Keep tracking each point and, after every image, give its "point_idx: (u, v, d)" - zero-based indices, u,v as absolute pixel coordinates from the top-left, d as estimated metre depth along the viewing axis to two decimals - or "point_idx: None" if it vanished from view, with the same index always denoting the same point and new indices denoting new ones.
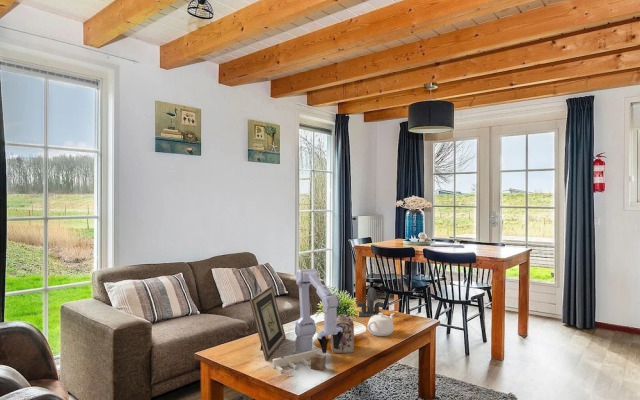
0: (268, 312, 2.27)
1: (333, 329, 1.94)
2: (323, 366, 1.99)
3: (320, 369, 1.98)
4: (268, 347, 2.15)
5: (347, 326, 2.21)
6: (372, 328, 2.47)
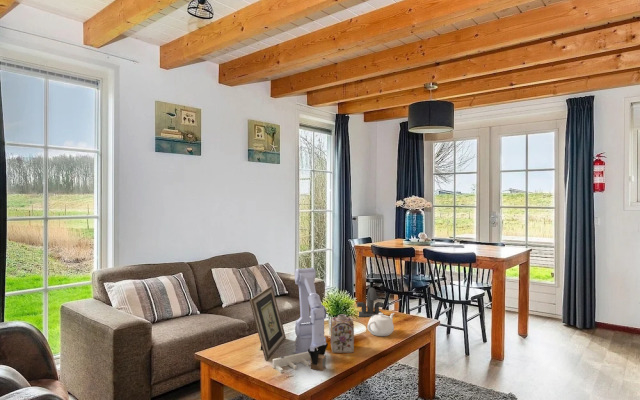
0: (268, 312, 2.27)
1: (322, 340, 1.99)
2: (323, 366, 1.99)
3: (320, 369, 1.98)
4: (268, 347, 2.15)
5: (347, 326, 2.21)
6: (372, 328, 2.47)
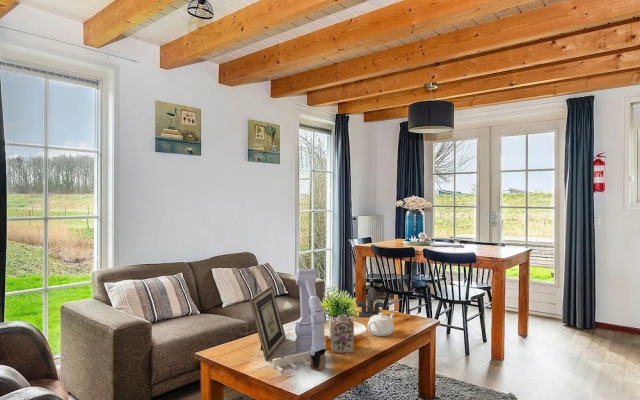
0: (268, 312, 2.27)
1: (322, 344, 1.99)
2: (323, 366, 1.99)
3: (320, 369, 1.98)
4: (268, 347, 2.15)
5: (347, 326, 2.21)
6: (372, 328, 2.47)
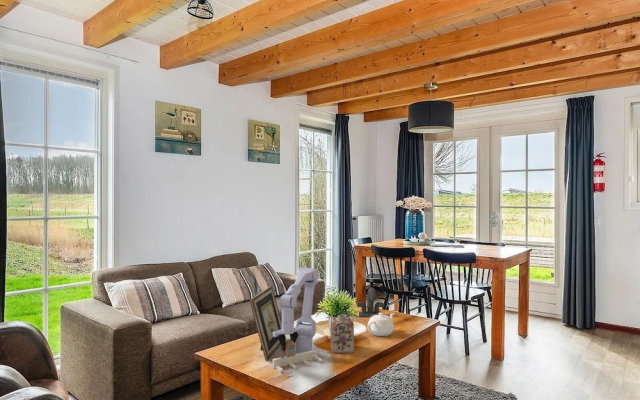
0: (268, 312, 2.27)
1: (288, 328, 1.97)
2: (290, 353, 1.96)
3: (286, 355, 1.96)
4: (268, 347, 2.15)
5: (347, 326, 2.21)
6: (372, 328, 2.47)
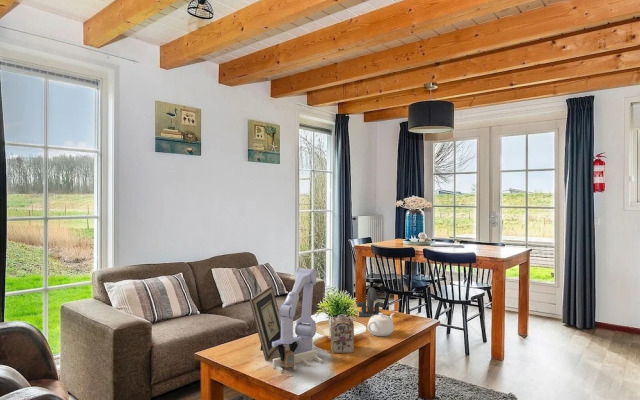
0: (268, 312, 2.27)
1: (287, 338, 1.97)
2: (289, 363, 1.96)
3: (285, 365, 1.96)
4: (268, 347, 2.15)
5: (347, 326, 2.21)
6: (372, 328, 2.47)
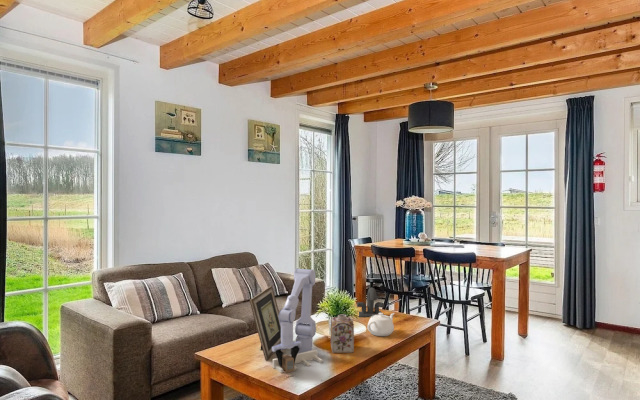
0: (268, 312, 2.27)
1: (287, 343, 1.97)
2: (289, 368, 1.97)
3: (285, 371, 1.97)
4: (268, 347, 2.15)
5: (347, 326, 2.21)
6: (372, 328, 2.47)
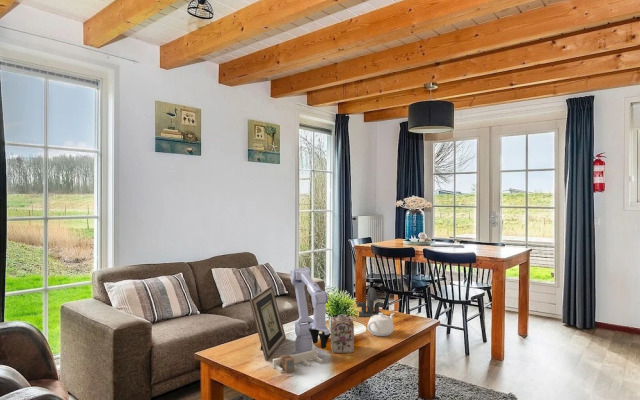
0: (268, 312, 2.27)
1: (313, 323, 2.03)
2: (289, 368, 1.97)
3: (285, 371, 1.97)
4: (268, 347, 2.15)
5: (347, 326, 2.21)
6: (372, 328, 2.47)
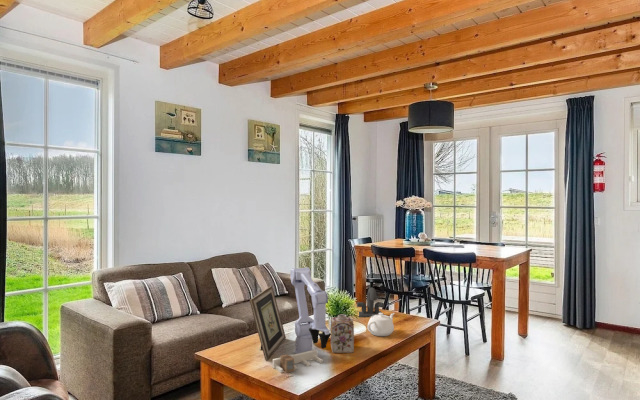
0: (268, 312, 2.27)
1: (313, 323, 2.03)
2: (289, 368, 1.97)
3: (285, 371, 1.97)
4: (268, 347, 2.15)
5: (347, 326, 2.21)
6: (372, 328, 2.47)
